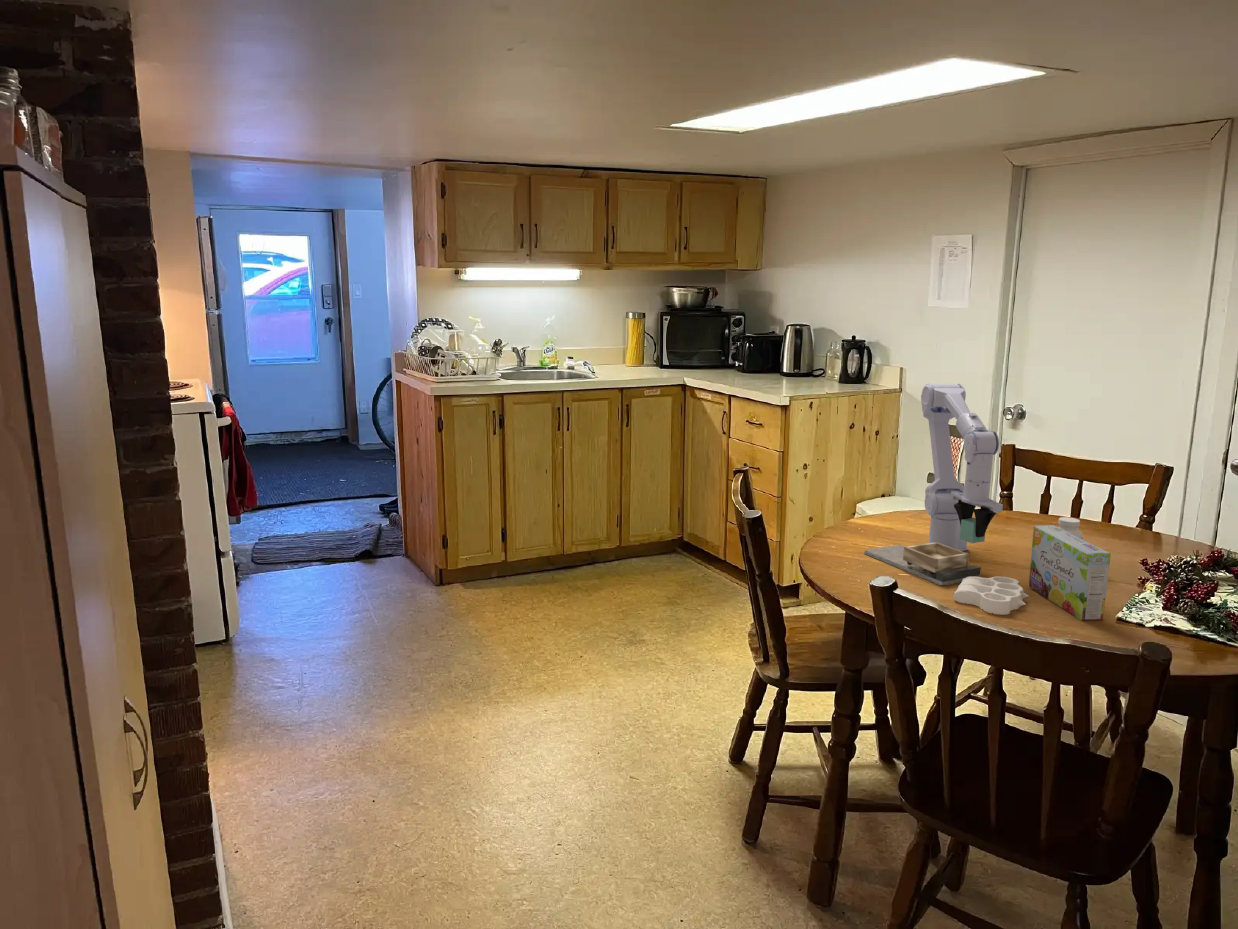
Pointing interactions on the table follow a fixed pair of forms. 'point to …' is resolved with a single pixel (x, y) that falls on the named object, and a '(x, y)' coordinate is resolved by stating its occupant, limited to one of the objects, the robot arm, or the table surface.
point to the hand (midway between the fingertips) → (972, 534)
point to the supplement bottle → (1070, 526)
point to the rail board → (944, 577)
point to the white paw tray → (991, 594)
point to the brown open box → (935, 557)
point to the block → (969, 531)
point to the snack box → (1069, 572)
